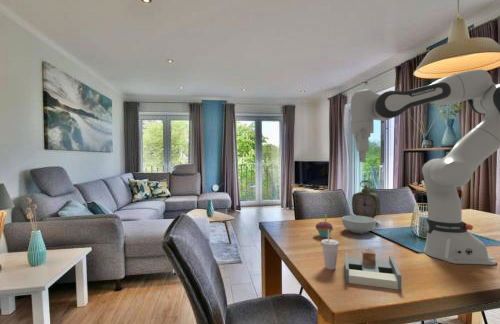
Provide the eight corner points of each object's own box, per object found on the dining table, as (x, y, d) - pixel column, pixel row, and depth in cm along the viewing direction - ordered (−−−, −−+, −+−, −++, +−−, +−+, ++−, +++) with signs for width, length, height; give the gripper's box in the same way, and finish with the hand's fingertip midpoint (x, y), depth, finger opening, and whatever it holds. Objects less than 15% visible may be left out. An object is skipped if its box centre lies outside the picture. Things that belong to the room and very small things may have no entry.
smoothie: (325, 262, 102) (325, 226, 102) (342, 266, 98) (341, 229, 98) (318, 268, 97) (317, 230, 97) (335, 272, 93) (335, 233, 93)
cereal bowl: (380, 236, 132) (380, 222, 132) (345, 235, 135) (345, 222, 135) (370, 227, 149) (370, 215, 149) (339, 226, 152) (339, 214, 152)
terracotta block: (374, 260, 97) (374, 249, 97) (375, 265, 93) (375, 253, 93) (362, 259, 98) (362, 248, 98) (363, 263, 94) (363, 252, 94)
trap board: (392, 268, 96) (392, 256, 96) (401, 289, 81) (401, 275, 81) (345, 263, 101) (345, 251, 101) (345, 282, 86) (345, 268, 86)
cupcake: (336, 237, 133) (336, 213, 133) (322, 239, 130) (322, 215, 130) (325, 232, 141) (325, 210, 141) (312, 234, 138) (311, 212, 138)
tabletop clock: (352, 221, 164) (351, 180, 164) (356, 218, 171) (356, 179, 170) (377, 224, 155) (376, 182, 154) (381, 221, 162) (380, 180, 161)
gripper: (372, 126, 100) (373, 162, 101) (368, 130, 120) (368, 161, 120) (354, 127, 103) (355, 163, 103) (353, 131, 122) (353, 161, 122)
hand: (362, 162), depth 112 cm, fingers open, 8 cm apart
